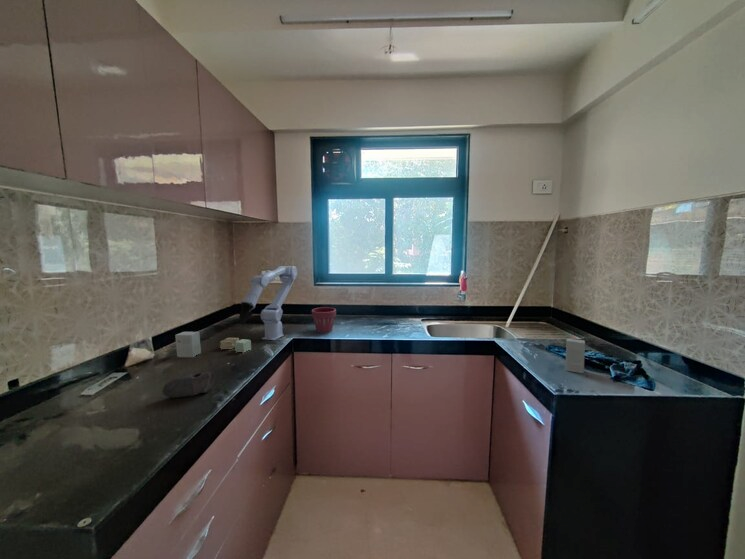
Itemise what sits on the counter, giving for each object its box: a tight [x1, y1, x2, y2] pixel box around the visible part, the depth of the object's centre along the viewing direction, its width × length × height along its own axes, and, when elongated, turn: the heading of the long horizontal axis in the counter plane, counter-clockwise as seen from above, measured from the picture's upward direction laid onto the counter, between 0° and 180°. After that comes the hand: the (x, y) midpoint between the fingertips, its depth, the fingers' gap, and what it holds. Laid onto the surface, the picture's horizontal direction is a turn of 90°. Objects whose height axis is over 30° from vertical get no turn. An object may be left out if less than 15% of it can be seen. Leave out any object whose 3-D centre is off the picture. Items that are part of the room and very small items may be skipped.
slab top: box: [219, 337, 240, 346], centre depth 149 cm, size 6×6×2 cm
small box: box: [174, 331, 202, 358], centre depth 138 cm, size 8×6×10 cm
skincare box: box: [564, 338, 586, 374], centre depth 117 cm, size 6×4×12 cm
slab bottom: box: [219, 344, 235, 350], centre depth 149 cm, size 6×6×2 cm
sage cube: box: [234, 338, 252, 354], centre depth 143 cm, size 5×5×5 cm
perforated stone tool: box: [162, 371, 215, 399], centre depth 100 cm, size 15×5×7 cm, turn 111°
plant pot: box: [311, 306, 337, 334], centre depth 177 cm, size 14×14×13 cm
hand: (241, 321), depth 142 cm, fingers open, 7 cm apart
